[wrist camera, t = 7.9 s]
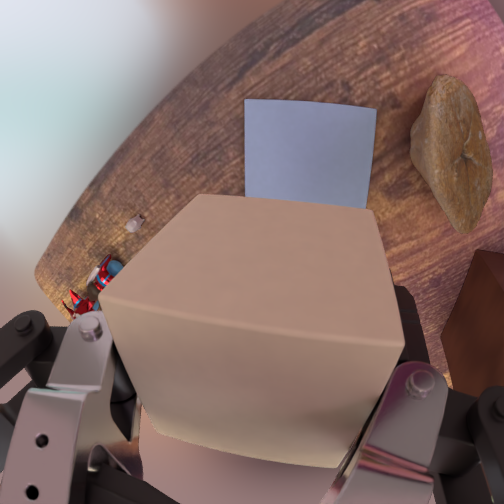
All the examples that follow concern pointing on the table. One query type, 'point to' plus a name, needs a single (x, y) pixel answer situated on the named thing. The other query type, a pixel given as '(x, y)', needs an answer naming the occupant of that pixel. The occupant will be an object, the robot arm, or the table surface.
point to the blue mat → (308, 151)
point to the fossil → (453, 152)
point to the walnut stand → (477, 328)
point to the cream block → (259, 326)
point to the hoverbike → (94, 287)
